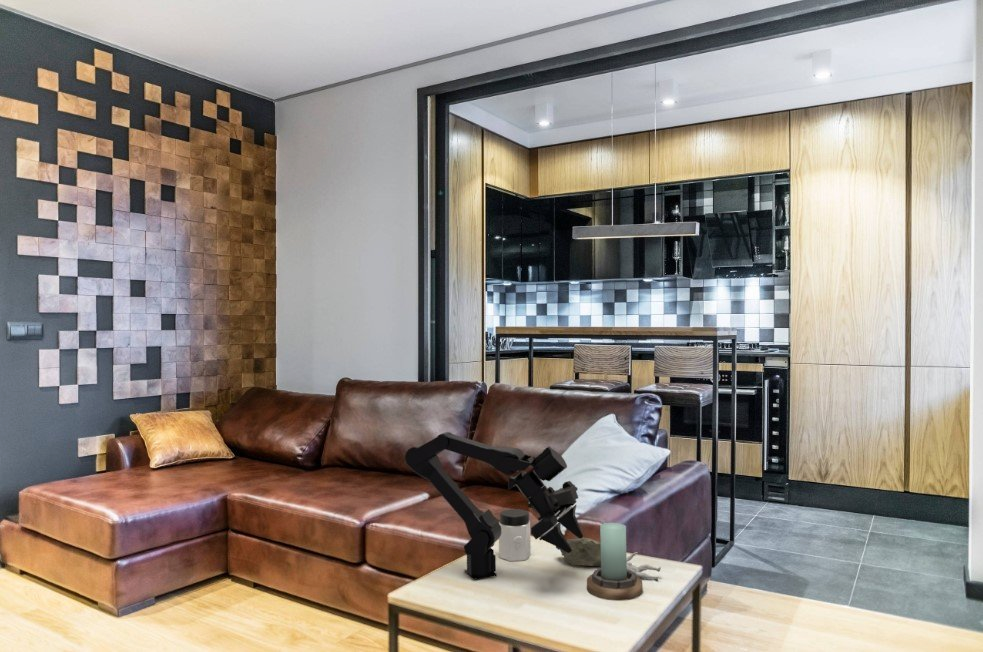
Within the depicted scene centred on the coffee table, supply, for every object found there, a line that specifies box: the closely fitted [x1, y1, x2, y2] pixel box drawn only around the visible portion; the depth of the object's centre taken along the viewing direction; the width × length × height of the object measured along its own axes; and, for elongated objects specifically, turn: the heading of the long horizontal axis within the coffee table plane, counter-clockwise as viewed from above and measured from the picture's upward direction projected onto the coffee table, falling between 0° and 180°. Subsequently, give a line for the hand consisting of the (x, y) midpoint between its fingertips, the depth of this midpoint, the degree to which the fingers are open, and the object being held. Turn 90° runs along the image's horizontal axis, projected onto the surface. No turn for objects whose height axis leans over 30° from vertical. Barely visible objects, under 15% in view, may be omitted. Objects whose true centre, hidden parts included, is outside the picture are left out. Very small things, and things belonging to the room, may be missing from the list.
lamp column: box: [599, 522, 628, 581], centre depth 158 cm, size 6×6×13 cm
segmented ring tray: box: [586, 568, 643, 601], centre depth 158 cm, size 13×13×4 cm
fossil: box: [555, 537, 601, 567], centre depth 177 cm, size 14×10×10 cm
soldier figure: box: [626, 551, 662, 581], centre depth 167 cm, size 8×5×12 cm
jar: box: [498, 508, 532, 562], centre depth 183 cm, size 9×8×12 cm
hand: (576, 544), depth 162 cm, fingers open, 9 cm apart
